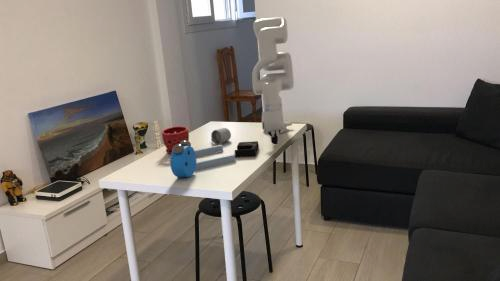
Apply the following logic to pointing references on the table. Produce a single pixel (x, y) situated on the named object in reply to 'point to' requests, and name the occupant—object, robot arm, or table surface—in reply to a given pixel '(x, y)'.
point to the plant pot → (174, 137)
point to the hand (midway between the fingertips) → (274, 143)
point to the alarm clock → (183, 159)
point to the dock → (215, 160)
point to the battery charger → (246, 149)
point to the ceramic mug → (220, 135)
